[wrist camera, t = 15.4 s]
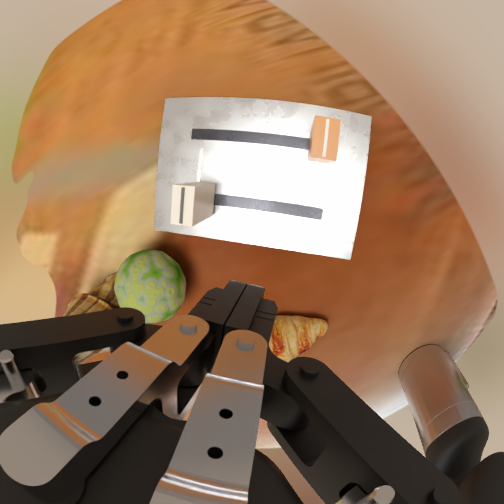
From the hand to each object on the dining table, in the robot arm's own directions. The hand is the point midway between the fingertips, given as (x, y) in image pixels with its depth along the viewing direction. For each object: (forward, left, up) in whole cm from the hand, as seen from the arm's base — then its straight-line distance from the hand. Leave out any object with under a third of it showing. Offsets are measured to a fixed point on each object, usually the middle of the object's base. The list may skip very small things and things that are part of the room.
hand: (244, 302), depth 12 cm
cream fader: (+9, -1, -22) cm, 24 cm away
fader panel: (+3, -5, -24) cm, 25 cm away
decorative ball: (+15, +11, -24) cm, 31 cm away
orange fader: (-4, -9, -22) cm, 24 cm away
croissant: (0, +19, -24) cm, 31 cm away
